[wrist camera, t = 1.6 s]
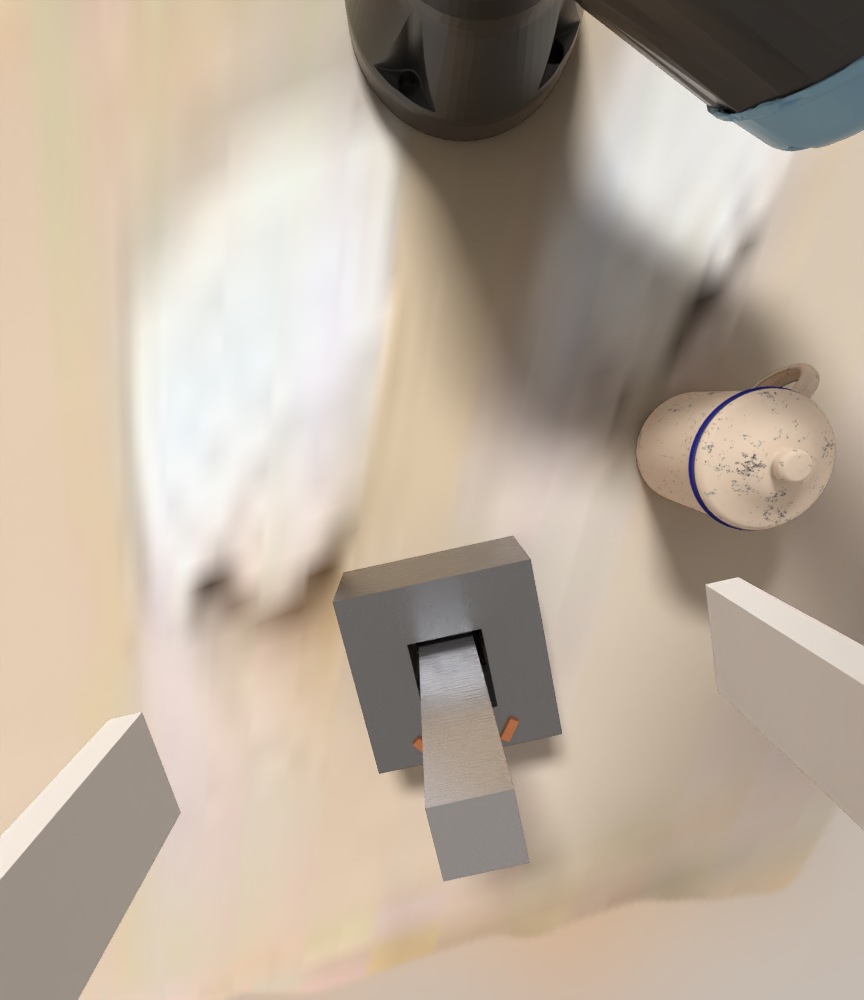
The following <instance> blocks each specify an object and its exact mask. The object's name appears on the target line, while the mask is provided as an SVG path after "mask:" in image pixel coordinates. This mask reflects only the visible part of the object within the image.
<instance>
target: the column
mask: <svg viewBox="0 0 864 1000" xmlns="http://www.w3.org/2000/svg"><path fill="white" fill-rule="evenodd" d="M419 668H420V693H421V718H422V743H423V768H424V794H425V810H426V814H427V818H428V822H429V826H430V830H431V834H432V838H433V842H434V846H435V850H436V853H437V857H438V861H439V865H440V869H441V873H442V877H443V881H448V880H452V879H457V878H461V877H466V876H471V875H475V874H480V873H484V872H489V871H493V870H498V869H503V868H507V867H512V866H516V865H521V864H525V863H529V859H528V854H527V849H526V845H525V840H524V835H523V830H522V825H521V820H520V816H519V811H518V806H517V801H516V796H515V792H514V787H513V784H512V780H511V776H510V772H509V769H508V765H507V761H506V758H505V754H504V750H503V746H502V743H501V739H500V735H499V731H498V728H497V724H496V720H495V717H494V713H493V709H492V705H491V702H490V698H489V694H488V691H487V687H486V683H485V679H484V676H483V672H482V668H481V665H480V661H479V657H478V653H477V650H476V646H475V642H474V638H473V635H472V631H469V632H464V633H459V634H455V635H450V636H446V637H441V638H436V639H432V640H427V641H423V642H419Z"/></svg>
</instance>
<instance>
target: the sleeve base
mask: <svg viewBox="0 0 864 1000" xmlns="http://www.w3.org/2000/svg"><path fill="white" fill-rule="evenodd" d="M333 605H334V609H335V613H336V616H337V620H338V624H339V627H340V631H341V635H342V638H343V642H344V646H345V649H346V653H347V657H348V661H349V664H350V668H351V672H352V675H353V679H354V683H355V686H356V690H357V694H358V698H359V701H360V705H361V709H362V712H363V716H364V720H365V723H366V727H367V731H368V734H369V738H370V742H371V746H372V749H373V753H374V757H375V760H376V764H377V768H378V771H379V774H381V773H385V772H390V771H394V770H399V769H403V768H408V767H413V766H417V765H422V764H423V743H422V718H421V693H420V668H419V657H418V653H417V648H416V644H415V643H418V642H423V641H427V640H432V639H436V638H441V637H446V636H450V635H455V634H459V633H464V632H469V631H473V630H479V635H480V640H481V645H482V650H483V654H484V659H485V664H484V665H481V668H482V672H483V676H484V679H485V683H486V687H487V691H488V694H489V698H490V702H491V705H492V709H493V713H494V717H495V720H496V724H497V728H498V731H499V735H500V739H501V743H502V746H503V747H504V746H509V745H513V744H518V743H522V742H527V741H532V740H536V739H541V738H545V737H550V736H554V735H559V734H562V730H561V725H560V719H559V714H558V708H557V702H556V697H555V691H554V686H553V680H552V675H551V669H550V664H549V658H548V653H547V647H546V641H545V636H544V630H543V625H542V619H541V614H540V608H539V603H538V597H537V591H536V586H535V580H534V575H533V569H532V564H531V559H530V558H529V556H528V555H527V554H526V552H525V551H524V550H523V548H522V547H521V546H520V544H519V543H518V542H517V540H516V539H515V538H514V536H510V537H506V538H501V539H496V540H492V541H487V542H483V543H478V544H473V545H469V546H464V547H460V548H455V549H451V550H446V551H441V552H437V553H432V554H428V555H423V556H418V557H414V558H409V559H405V560H400V561H395V562H391V563H386V564H382V565H377V566H372V567H368V568H363V569H359V570H354V571H350V572H345V573H343V576H342V579H341V581H340V584H339V587H338V589H337V592H336V595H335V597H334V600H333Z"/></svg>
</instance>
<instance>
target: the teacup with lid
mask: <svg viewBox="0 0 864 1000" xmlns="http://www.w3.org/2000/svg"><path fill="white" fill-rule="evenodd" d="M795 381H797V383H796V384H795V385H794V386H793V388H792V389H791V390H790V389H787V388H783V386H785V385H787V384H789V383H792V382H795ZM818 384H819V374H818V372H817V371H816V370H815V369H814V368H813V367H812V366H810V365H808V364H794V365H790V366H787V367H784V368H782V369H779V370H777V371H775V372H773V373H771V374H769V375H768V376H766V377H765V378H763V379H762V380H760V381H759V382H758V383H757V384H755V385H754V386H753V387H752V388H751V389H748V390H745V391H710V392H688V393H683V394H680V395H677V396H674V397H672V398H670V399H668V400H667V401H665V402H663V403H662V404H661V405H659V406H658V407H657V408H656V409H655V410H654V411H653V412H652V413H651V414H650V416H649V417H648V418H647V420H646V421H645V423H644V425H643V427H642V429H641V431H640V434H639V437H638V442H637V449H636V456H637V463H638V467H639V470H640V473H641V475H642V477H643V479H644V480H645V482H646V483H647V484H648V486H649V487H650V488H651V489H652V490H653V491H655V492H656V493H658V494H659V495H661V496H662V497H665V498H667V499H669V500H672V501H674V502H677V503H680V504H682V505H685V506H687V507H690V508H692V509H695V510H698V511H700V512H703V513H705V514H708V515H709V516H711V517H712V518H713V519H715V520H716V521H718V522H719V523H721V524H723V525H726V526H728V527H731V528H735V529H739V530H763V529H769V528H774V527H777V526H780V525H783V524H785V523H787V522H789V521H791V520H793V519H795V518H796V517H798V516H800V515H801V514H802V513H804V512H805V511H806V510H807V509H808V508H810V507H811V506H812V505H813V504H814V502H815V501H816V500H817V499H818V498H819V496H820V495H821V493H822V492H823V490H824V489H825V487H826V485H827V483H828V481H829V479H830V476H831V473H832V470H833V466H834V461H835V439H834V435H833V431H832V428H831V425H830V423H829V421H828V419H827V418H826V416H825V414H824V413H823V412H822V411H821V409H820V408H819V407H818V406H817V405H816V404H815V403H814V402H812V401H811V400H810V399H809V398H810V397H811V396H812V394H813V393H814V392H815V390H816V388H817V386H818Z"/></svg>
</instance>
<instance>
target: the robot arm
mask: <svg viewBox="0 0 864 1000" xmlns="http://www.w3.org/2000/svg"><path fill="white" fill-rule="evenodd" d="M345 6H346V12H347V19H348V25H349V31H350V37H351V41H352V45H353V48H354V51H355V54H356V57H357V60H358V62H359V65H360V67H361V69H362V71H363V73H364V75H365V77H366V79H367V81H368V82H369V84H370V86H371V87H372V89H373V90H374V92H375V93H376V94H377V96H378V97H379V98H380V99H381V101H382V102H383V103H384V104H385V105H386V106H387V107H388V108H389V109H390V110H391V111H392V112H393V113H394V114H395V115H397V116H398V117H399V118H400V119H402V120H403V121H404V122H406V123H407V124H409V125H411V126H412V127H414V128H416V129H418V130H420V131H422V132H424V133H427V134H429V135H432V136H435V137H439V138H443V139H449V140H459V141H468V140H478V139H483V138H487V137H491V136H494V135H497V134H500V133H502V132H504V131H507V130H509V129H510V128H512V127H514V126H516V125H517V124H519V123H520V122H522V121H523V120H524V119H526V118H527V117H528V116H529V115H531V114H532V113H533V112H534V111H535V110H536V109H537V108H538V107H539V106H540V105H541V104H542V102H543V101H544V100H545V99H546V98H547V96H548V95H549V93H550V92H551V91H552V89H553V87H554V86H555V84H556V83H557V81H558V79H559V77H560V75H561V73H562V71H563V69H564V67H565V64H566V62H567V60H568V58H569V56H570V54H571V51H572V49H573V47H574V44H575V41H576V38H577V35H578V32H579V28H580V24H581V20H582V15H583V10H586V11H587V12H588V13H590V14H591V15H592V16H593V17H595V18H596V19H597V20H599V21H600V22H601V23H602V24H604V25H605V26H606V27H608V28H609V29H610V30H611V31H613V32H614V33H615V34H617V35H618V36H619V37H620V38H622V39H623V40H624V41H626V42H627V43H628V44H629V45H631V46H632V47H633V48H635V49H636V50H637V51H638V52H640V53H641V54H642V55H644V56H645V57H646V58H647V59H649V60H650V61H651V62H653V63H654V64H655V65H656V66H658V67H659V68H660V69H662V70H663V71H664V72H666V73H667V74H668V75H669V76H671V77H672V78H673V79H675V80H676V81H677V82H678V83H680V84H681V85H682V86H684V87H685V88H686V89H687V90H689V91H690V92H691V93H693V94H694V95H695V96H696V97H698V98H699V99H700V100H702V101H703V102H704V103H705V104H707V109H708V112H709V113H711V114H712V115H713V116H715V117H716V118H718V119H721V120H723V121H733V122H734V123H736V124H737V125H739V126H740V127H742V128H743V129H745V130H746V131H748V132H749V133H751V134H752V135H754V136H755V137H757V138H758V139H760V140H761V141H763V142H764V143H766V144H768V145H769V146H771V147H773V148H776V149H780V150H785V151H797V150H803V149H808V148H819V147H824V146H827V145H830V144H833V143H835V142H838V141H841V140H843V139H846V138H848V137H851V136H853V135H855V134H857V133H859V132H861V131H863V130H864V0H345ZM705 587H706V595H707V604H708V613H709V621H710V630H711V639H712V647H713V656H714V665H715V674H716V682H717V691H718V692H719V693H720V694H721V695H722V696H723V697H724V698H725V699H726V700H727V701H728V702H730V703H731V704H732V705H733V706H734V707H735V708H736V709H737V710H738V711H739V712H740V713H741V714H742V715H743V716H744V717H745V718H746V719H747V720H748V721H749V722H751V723H752V724H753V725H754V726H755V727H756V728H757V729H758V730H759V731H760V732H761V733H762V734H763V735H764V736H765V737H766V738H767V739H768V740H769V741H770V742H772V743H773V744H774V745H775V746H776V747H777V748H778V749H779V750H780V751H781V752H782V753H783V754H784V755H785V756H786V757H787V758H788V759H789V760H790V761H791V762H793V763H794V764H795V765H796V766H797V767H798V768H799V769H800V770H801V771H802V772H803V773H804V774H805V775H806V776H807V777H808V778H809V779H810V780H811V781H812V782H814V783H815V784H816V785H817V786H818V787H819V788H820V789H821V790H822V791H823V792H824V793H825V794H826V795H827V796H828V797H829V798H830V799H831V800H832V801H833V802H834V803H836V804H837V805H838V806H839V807H840V808H841V809H842V810H843V811H844V812H845V813H846V814H847V815H848V816H849V817H850V818H851V819H852V820H853V821H855V822H856V823H857V824H858V825H859V826H860V827H861V828H862V829H863V830H864V646H863V645H861V644H859V643H858V642H856V641H854V640H852V639H850V638H849V637H847V636H845V635H843V634H841V633H839V632H838V631H836V630H834V629H832V628H830V627H828V626H827V625H825V624H823V623H821V622H819V621H817V620H816V619H814V618H812V617H810V616H808V615H806V614H805V613H803V612H801V611H799V610H797V609H795V608H794V607H792V606H790V605H788V604H786V603H785V602H783V601H781V600H779V599H777V598H775V597H774V596H772V595H770V594H768V593H766V592H764V591H763V590H761V589H759V588H757V587H755V586H753V585H752V584H750V583H748V582H746V581H744V580H742V579H741V578H739V577H736V578H732V579H728V580H723V581H719V582H714V583H710V584H706V585H705ZM180 813H181V812H180V810H179V807H178V804H177V802H176V799H175V797H174V794H173V791H172V789H171V786H170V784H169V781H168V778H167V776H166V773H165V771H164V768H163V765H162V763H161V760H160V757H159V755H158V752H157V750H156V747H155V744H154V742H153V739H152V737H151V734H150V731H149V729H148V726H147V724H146V721H145V718H144V716H143V713H142V712H140V713H136V714H132V715H127V716H123V717H118V718H114V719H110V720H108V721H107V723H106V724H105V725H104V726H103V727H102V728H101V729H100V730H99V731H98V732H97V733H96V734H95V735H94V737H93V738H92V739H91V740H90V741H89V742H88V743H87V744H86V745H85V746H84V747H83V748H82V749H81V750H80V752H79V753H78V754H77V755H76V756H75V757H74V758H73V759H72V760H71V761H70V762H69V763H68V764H67V766H66V767H65V768H64V769H63V770H62V771H61V772H60V773H59V774H58V775H57V776H56V777H55V778H54V780H53V781H52V782H51V783H50V784H49V785H48V786H47V787H46V788H45V789H44V790H43V791H42V792H41V794H40V795H39V796H38V797H37V798H36V799H35V800H34V801H33V802H32V803H31V804H30V805H29V806H28V808H27V809H26V810H25V811H24V812H23V813H22V814H21V815H20V816H19V817H18V818H17V819H16V820H15V822H14V823H13V824H12V825H11V826H10V827H9V828H8V829H7V830H6V831H5V832H4V833H3V834H2V835H1V837H0V1000H78V998H79V997H80V995H81V993H82V991H83V989H84V988H85V986H86V984H87V982H88V980H89V978H90V977H91V975H92V973H93V971H94V969H95V968H96V966H97V964H98V962H99V960H100V958H101V957H102V955H103V953H104V951H105V949H106V948H107V946H108V944H109V942H110V940H111V938H112V937H113V935H114V933H115V931H116V929H117V928H118V926H119V924H120V922H121V920H122V918H123V917H124V915H125V913H126V911H127V909H128V907H129V906H130V904H131V902H132V900H133V898H134V897H135V895H136V893H137V891H138V889H139V887H140V886H141V884H142V882H143V880H144V878H145V877H146V875H147V873H148V871H149V869H150V867H151V866H152V864H153V862H154V860H155V858H156V857H157V855H158V853H159V851H160V849H161V847H162V846H163V844H164V842H165V840H166V838H167V837H168V835H169V833H170V831H171V829H172V827H173V826H174V824H175V822H176V820H177V818H178V817H179V815H180Z"/></svg>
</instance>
